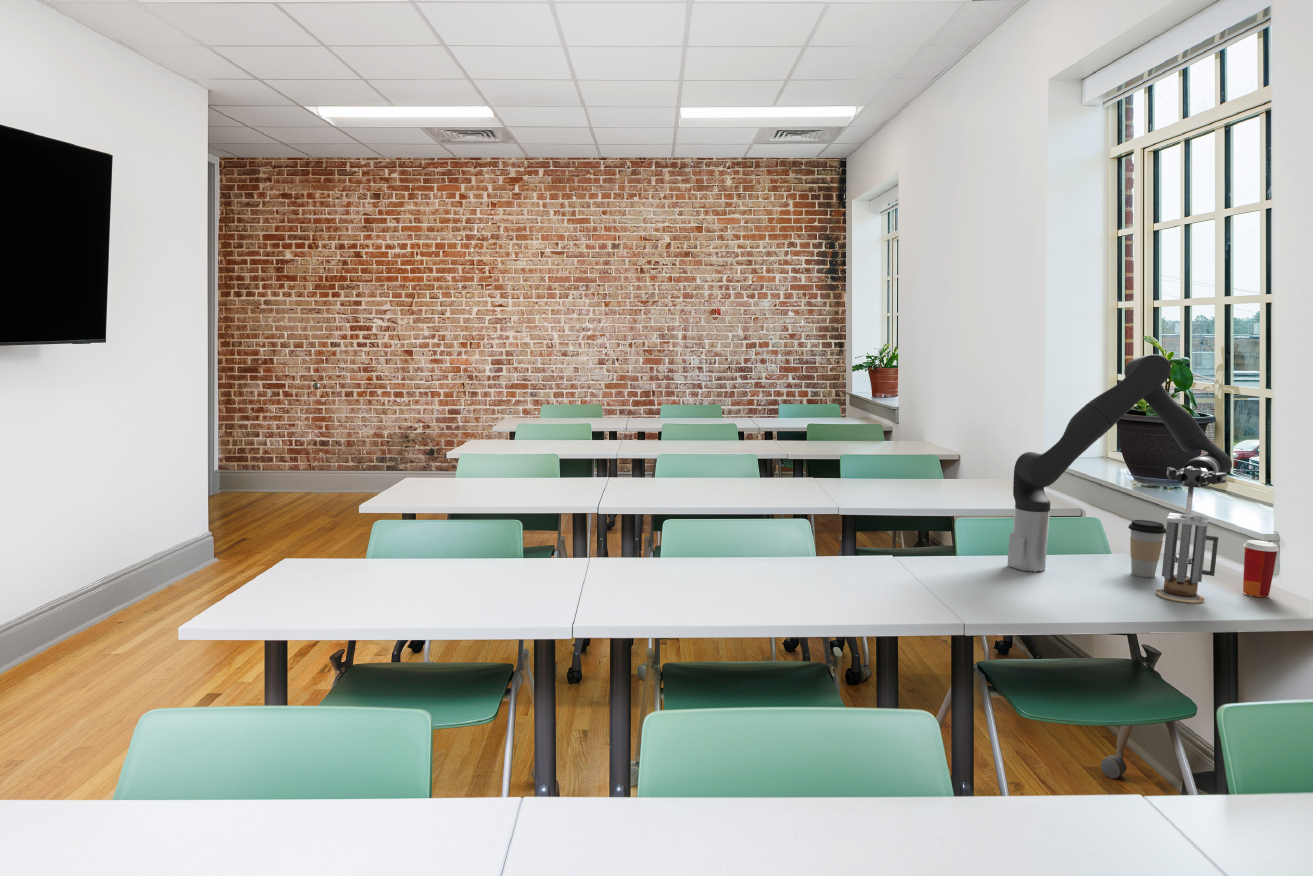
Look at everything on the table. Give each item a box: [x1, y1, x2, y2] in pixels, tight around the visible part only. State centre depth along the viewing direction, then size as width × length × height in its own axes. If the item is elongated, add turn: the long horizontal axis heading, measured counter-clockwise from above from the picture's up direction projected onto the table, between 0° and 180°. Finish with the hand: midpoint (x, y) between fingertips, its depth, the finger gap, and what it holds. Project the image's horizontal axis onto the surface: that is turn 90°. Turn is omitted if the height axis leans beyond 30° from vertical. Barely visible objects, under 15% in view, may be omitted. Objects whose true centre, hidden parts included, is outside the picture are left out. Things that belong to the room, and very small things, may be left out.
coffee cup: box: [1128, 519, 1167, 578], centre depth 247 cm, size 9×9×15 cm
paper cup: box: [1242, 539, 1280, 598], centre depth 230 cm, size 8×8×14 cm
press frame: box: [1154, 512, 1219, 605], centre depth 225 cm, size 12×11×21 cm
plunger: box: [1174, 468, 1202, 565], centre depth 224 cm, size 6×6×24 cm
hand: (1190, 478), depth 221 cm, fingers closed on plunger, 4 cm apart
